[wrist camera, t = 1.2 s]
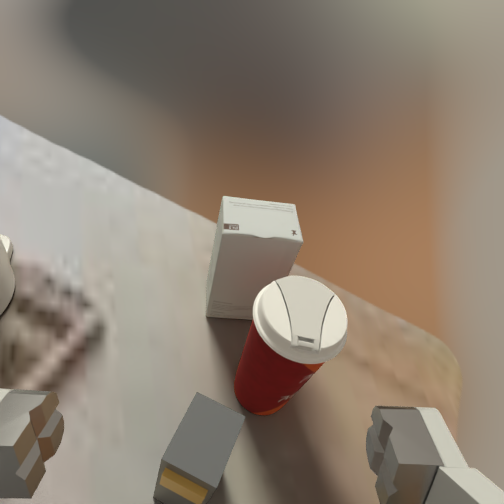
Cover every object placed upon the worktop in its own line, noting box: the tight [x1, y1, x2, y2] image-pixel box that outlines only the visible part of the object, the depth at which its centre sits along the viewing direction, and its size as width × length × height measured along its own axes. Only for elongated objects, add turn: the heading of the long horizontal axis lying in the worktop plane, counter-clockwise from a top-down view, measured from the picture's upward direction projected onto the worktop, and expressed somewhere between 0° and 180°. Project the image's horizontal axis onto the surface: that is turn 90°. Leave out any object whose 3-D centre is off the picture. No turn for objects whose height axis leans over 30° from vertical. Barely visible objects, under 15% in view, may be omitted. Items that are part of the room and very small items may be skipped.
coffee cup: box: [234, 276, 347, 415], centre depth 36 cm, size 8×8×15 cm
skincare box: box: [206, 196, 303, 320], centre depth 43 cm, size 8×6×15 cm
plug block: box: [153, 392, 245, 504], centre depth 30 cm, size 4×6×11 cm
